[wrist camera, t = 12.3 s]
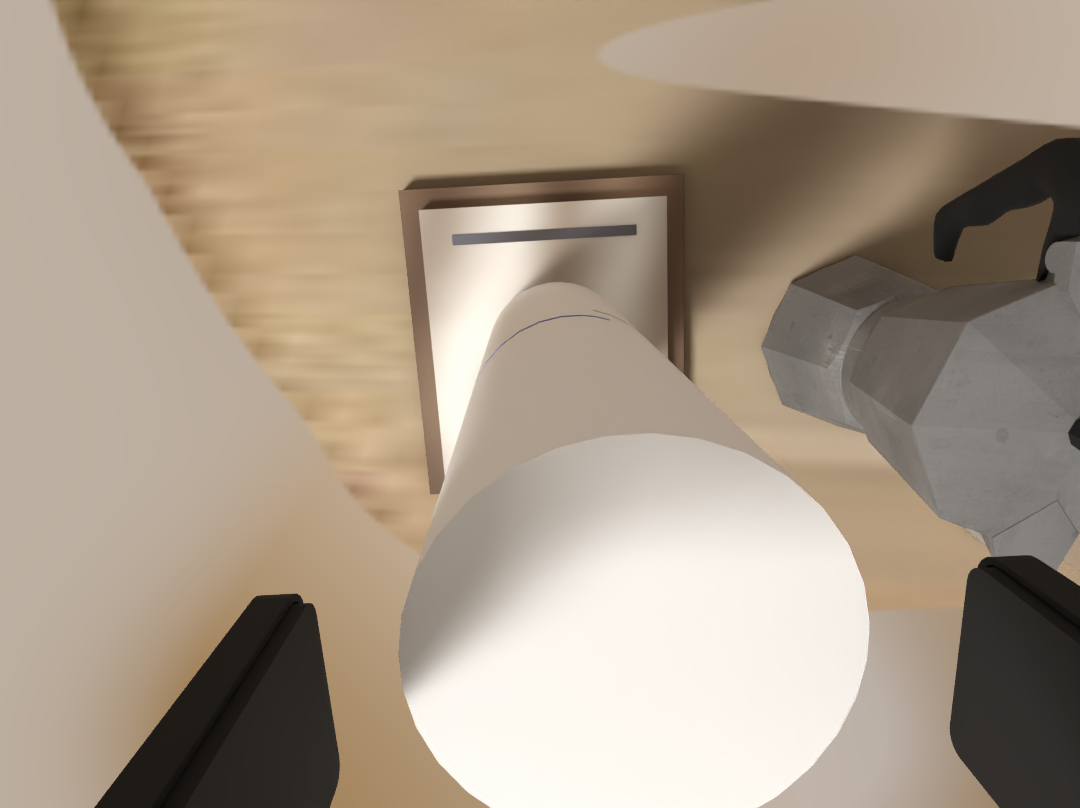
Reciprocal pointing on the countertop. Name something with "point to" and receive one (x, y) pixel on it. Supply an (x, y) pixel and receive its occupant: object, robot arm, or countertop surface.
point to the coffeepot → (958, 367)
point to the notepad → (532, 273)
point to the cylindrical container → (622, 585)
